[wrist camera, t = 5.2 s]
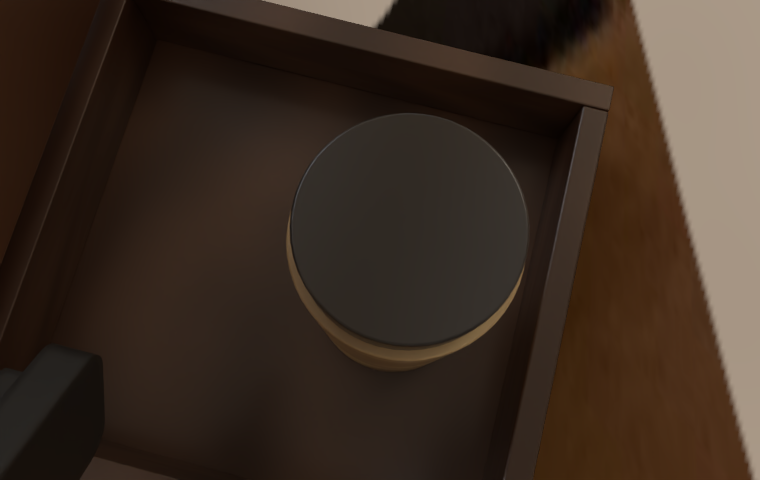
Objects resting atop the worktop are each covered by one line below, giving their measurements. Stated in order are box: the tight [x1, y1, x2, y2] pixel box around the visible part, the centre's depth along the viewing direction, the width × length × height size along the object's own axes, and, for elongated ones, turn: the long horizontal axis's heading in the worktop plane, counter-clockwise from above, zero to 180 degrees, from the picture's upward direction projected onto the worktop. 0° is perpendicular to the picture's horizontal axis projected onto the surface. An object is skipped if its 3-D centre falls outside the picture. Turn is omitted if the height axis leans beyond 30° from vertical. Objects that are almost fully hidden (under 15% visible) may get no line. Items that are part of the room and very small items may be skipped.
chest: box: [0, 0, 614, 480], centre depth 22 cm, size 16×15×4 cm
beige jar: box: [286, 113, 529, 372], centre depth 18 cm, size 5×5×10 cm
